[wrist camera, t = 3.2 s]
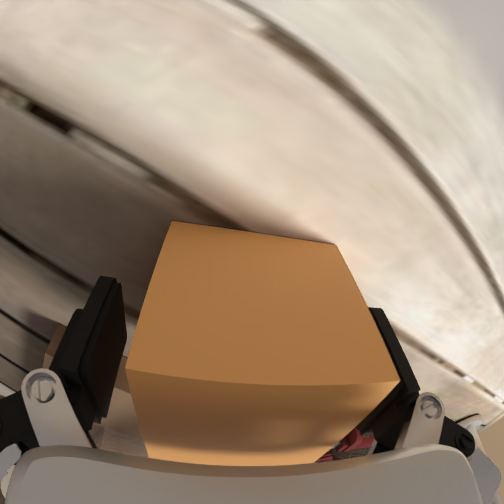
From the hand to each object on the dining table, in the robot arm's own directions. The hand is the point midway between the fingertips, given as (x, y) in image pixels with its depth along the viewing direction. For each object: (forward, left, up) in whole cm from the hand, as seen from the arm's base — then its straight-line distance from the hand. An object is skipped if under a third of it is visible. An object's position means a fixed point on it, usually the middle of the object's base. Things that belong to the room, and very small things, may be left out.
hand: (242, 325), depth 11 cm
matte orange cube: (0, 0, -2) cm, 2 cm away
